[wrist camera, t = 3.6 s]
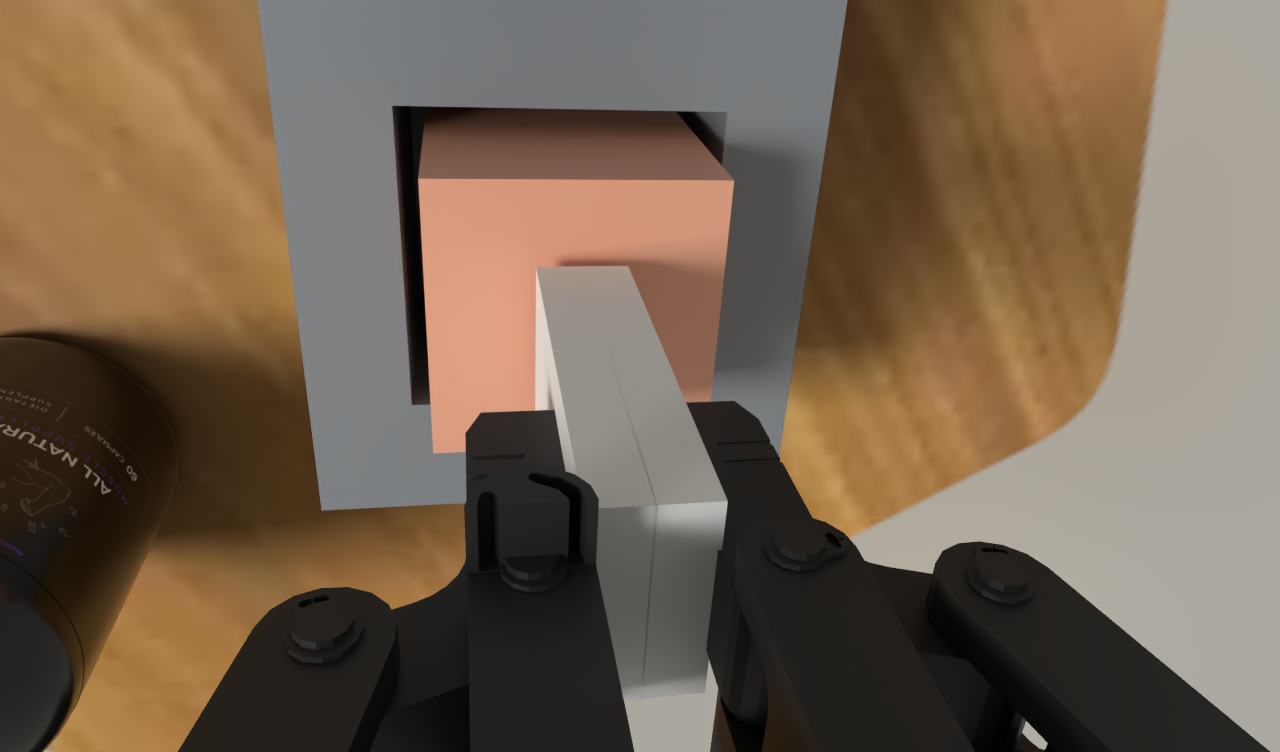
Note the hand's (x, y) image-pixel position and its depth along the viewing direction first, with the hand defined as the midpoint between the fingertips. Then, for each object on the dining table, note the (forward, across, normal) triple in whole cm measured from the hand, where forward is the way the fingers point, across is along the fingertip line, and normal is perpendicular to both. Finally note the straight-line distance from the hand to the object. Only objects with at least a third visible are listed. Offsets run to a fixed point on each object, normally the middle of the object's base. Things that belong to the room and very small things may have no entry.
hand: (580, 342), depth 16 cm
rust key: (+5, 0, 0) cm, 5 cm away
